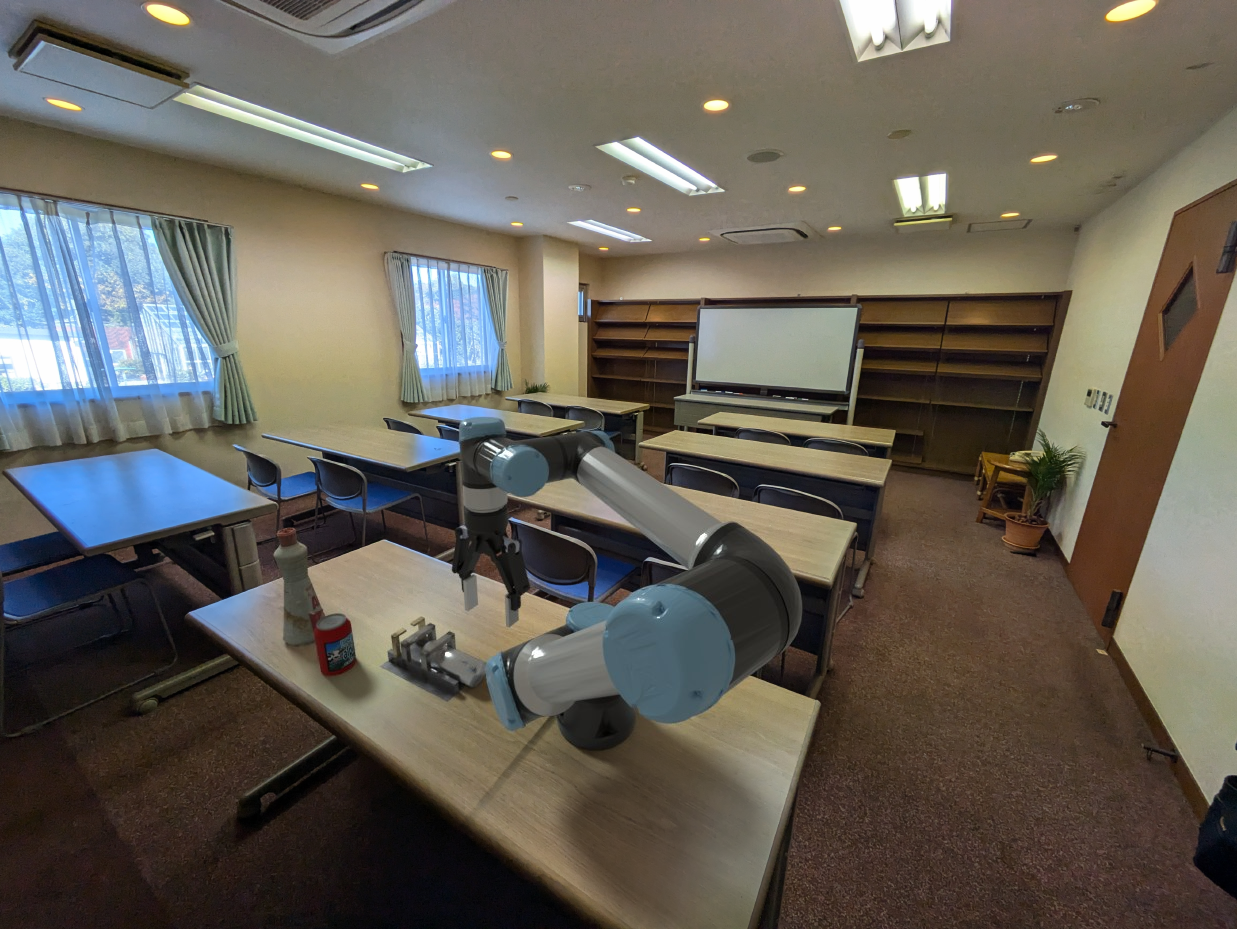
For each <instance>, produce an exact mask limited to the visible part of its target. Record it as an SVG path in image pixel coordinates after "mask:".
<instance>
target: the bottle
mask: <svg viewBox="0 0 1237 929" xmlns="http://www.w3.org/2000/svg"><path fill="white" fill-rule="evenodd" d="M276 537H277V540H278V543H279V546H278V548H277V549H275V551H274V553H273V558H274V560H275V562H276V565H277V567H278V569H279V572H280V574H281V577H282V579H283V628H282V629H283V630H282V632H283V634H282V640H283V642H285V643H286V644H289V645H291V646H294V647H299V646H306V645H310V644H313V643H315V638H314V630H315V628H316V624H317V622H318V621H319V620H320V619H321V618H323V617H325V616H326V613H325V612H324V608H323V607H322V605H321V603H320V600H319V597H318V596H317V592H316V590H315V587H314V585H313V583H312V581H311V578H310V576H309V568H308V547H307V546H306V545H305V544H303V543H301V542H299V541H298V537H297V531H296V529H295V528H294V527H285V528H282V529H279V530H278V531H277V533H276Z"/></svg>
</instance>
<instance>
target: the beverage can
mask: <svg viewBox="0 0 1237 929" xmlns="http://www.w3.org/2000/svg"><path fill="white" fill-rule="evenodd" d="M314 638H315V642H314V643H315V649H316V654H317V660H318V666H319V671H320V673H321V674H322V675H323V676H326V677H333V676H335V677H336V676H338V675H342V674H344V673H346V672H348V671H349V670H351V669H352V668H354V666H355V665H356V663H357V654H356V648H355V642H354V641H355V640H354V633H353V628H352V622H351V620H350V619H349V618H348V617H347V616H346V614H344V613H341V612H340V613H338V612H337V613H331V614H328V615H327V614H326V615H325V617H323V618H321V619H320V620H319V621H318V622H317V624H316V628H315V630H314Z"/></svg>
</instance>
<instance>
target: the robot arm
mask: <svg viewBox="0 0 1237 929" xmlns="http://www.w3.org/2000/svg"><path fill="white" fill-rule="evenodd" d="M458 430H459V431H458V432H459V434H458V437H459V438H458V444H459V454H460V455H459V456H460V470H461V481H462V485H461V486H462V501H463V503H462V505H463V506H464V509H463V514H464V515H463V516H464V524H463V525H461V526H459V527H456V528H455V529H454V535H455V544H454V551H453V557H452V558H453V559H452V565H451V572H452V573H453V574H457V575H458V577H459V579H460V582H461V591H462V593H463V597H464V598H463V599H464V611H465V612H470V611H471V610H472V609H474V608H475V607H477V606H478V605H479V596H478V594H479V593H478V579H477V575H476V574H474V573H475V572H476V570H475V569H476V567H477V564H478V562H479V560H480V557H481V555H486V556H487V557H489V558H490V560H491V562H492V563H493V564H495V566H496V569H497V570H498V574H499V575H500V577H501V580H502V582H503V584H504V586H505V589H506V592H507V593H505V595H504V610H505V627H506V628H510V629H511V627H512V626H513V625H515V624H516V623H517V622H519V620H520V618H519V617H520V616H519V613H520V612H519V610H520V608H521V606H522V596H523V595H524V594H526V592H528V591H529V590H531V586H530V582H529V578H528V572H527V568H526V563H525V560H524V556H523V541H522V539H520V538H517V539H516V540H515V539H512V538H509V535H508V533H507V528H508V524H509V506H508V504H507V503H508V500H509V499H508V494H510V495H513V496H516V497H519V498H528V497H532V496H534V495H536V494H537V493H538V492H539V491H541V490H542V489H543V488H544V487H545V485H547V484H550V483H556V482H559V481H564V480H565V481H567V480H570V479H572V480H574V481H576V482H577V483H578V484H580V486H582V487H584V488H585V489H586V490H588V491H589V492H590V493H591V494H593V495H594V496H595V497H596V498H597V499H598V500H600V501H601V502H603V503H604V504H605V505H606V506H608V507H609V508H610V509H611V510H613V512H614V513H616V514H617V515H619V516H620V517H621V518H623V519H624V520H625V521H626V522H627V523H628V524H630V525H631V526H632V527H634V528H635V529H637V530H638V531H639V532H640V533H641V534H643V535H644V536H645V537H646V538H648V539H649V540H650V541H652V542H653V543H654V544H655V545H657V546H658V547H659V548H660V549H661V550H663V551H664V552H665V553H667V554H668V555H669V556H670V557H672V558H673V559H674V560H675V561H676V562H678V563H679V564H680V565H682V566H683V567H684V568H686V569H687V570H685V571H683V572H681V573H678V574H677V575H676V574H675V575H673V576H672V577H669V578H667V579H664V580H662V581H660V582H658V583H656V584H650V585H647V586H644V587H641V588H639V589H637V590H634V591H633V592H632V593H630V594H629V595H627V597H625V598H624V599H621V601H619V603H617V604H616V605H615V606H613V605H611V604H607V603H604V602H603V603H602V602H598V601H587V602H581V603H578V604H576V605H574V606H572V607H571V608H570V609H569V610H568V612H567V614H566V616H565V622H566V623H565V624H564V625H562V626H559V627H556V628H555V629H552V630H548V631H547V632H544V633H542V634H540V635H538V636H535V637H533V638H531V639H529V640H526V641H524V642H522V643H519V644H518V645H515V646H513V647H510V648H508V649H506V650H504V651H501V650H500V651H499V652H498V653H497V654H495V655H494V656H492V657H490V658H488V659H487V661H486V662H485V663H486V668H485V670H486V672H485V677H486V683H487V687H488V691H489V695H490V699H491V701H492V704H493V706H494V709H495V712H496V714H497V717H498V718H499V721H500V722H501V724H502V726H503V727H504V728H505V729H506V730H507V731H509V732H515V731H517V730H520V729H522V728H525V727H527V725H528V724H530V723H532V722H533V721H535V720H538V719H540V718H544V717H553V716H557V717H556V721H557V726H558V729H559V731H560V733H561V734H562V736H563V737H564V738H565V739H566V740H567V741H568V742H569V743H570V744H572V745H574V746H576V747H578V748H581V749H584V750H592V751H599V750H600V751H602V750H607V749H611V748H613V747H614V748H615V747H616V746H618V745H620V744H621V743H623V742H624V741H625V740H626V739H627V738H628V737H629V736H630V735H631V733H632V731H633V729H634V727H635V723H636V707H637V709H638V714H639V715H641V716H642V717H644V718H646V719H648V720H650V721H653V722H655V723H660V724H665V725H666V724H668V725H669V724H677V723H681V722H685V721H687V720H689V719H691V718H692V717H693V718H694V717H695V716H699V715H701V714H703V713H705V712H706V711H708V710H710V709H711V708H712V707H713V706H715V705H716V704H717V703H718V702H719V701H720V700H721V699H722V697H723V696H725V695H726V694H727V693H729V691H731V690H732V689H734V688H735V687H736V686H737V685H739V684H740V683H742V682H743V681H744V680H746V679H748V677H750V676H751V675H753V674H754V673H755V672H756V671H758V670H759V669H760V668H762V667H763V666H765V665H766V664H768V663H769V662H770V661H771V660H773V659H774V658H776V657H777V656H779V655H780V654H782V653H783V652H784V651H785V650H786V649H788V647H789V646H790V645H791V643H792V642H793V640H794V639H795V638H796V637H797V634H798V631H799V629H800V626H801V623H802V615H803V600H802V595H801V594H802V593H801V590H800V587H799V585H798V584H799V583H798V582H797V579H796V577H795V575H794V573H793V571H792V570H791V568H790V566H789V565H788V564H787V562H786V561H785V560H784V558H782V556H781V555H780V554H779V553H778V552H777V551H776V550H775V549H774V548H773V547H772V546H771V545H770V544H769V543H767V542H766V541H765V540H763V539H762V538H761V537H760V536H758V535H757V534H756V533H754V532H752V530H751V531H750V530H749V529H748V528H746V527H745V526H743V525H741V524H740V523H738V522H736V521H733V520H730V521H725V522H723V521H721V520H719V519H718V518H716V517H715V516H713V515H711V514H709V513H708V512H707V511H705V510H704V509H702V508H701V507H699V506H698V505H696V504H694V503H693V502H691V501H690V500H688V499H686V498H685V497H684V496H682V495H681V494H679V493H677V492H676V491H675V490H673V489H671V488H670V487H669V486H667V485H665V484H663V483H662V482H660V481H659V480H658V479H656V478H654V477H653V476H651V475H650V474H648V473H647V472H645V471H643V470H642V469H640V468H639V467H637V466H636V465H635V464H633V463H631V462H630V461H628V460H627V459H626V458H623V457H622V456H621V455H619V454H617V453H616V451H615V450H616V449H615V445H614V443H613V441H612V440H611V439H610V436H609V435H608V434H607V433H605V432H604V431H601V430H581V431H579V432H572V433H567V434H566V433H565V434H559V435H552V436H545V437H544V436H543V437H536V438H535V437H534V438H529V439H522V440H512V439H510V438H508V437H507V431H506V426H505V422H504V420H503V419H501V418H500V417H494V416H475V417H469V418H465V419H463V420H461V422H460V423H459V429H458Z"/></svg>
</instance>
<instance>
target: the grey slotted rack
mask: <svg viewBox="0 0 1237 929" xmlns="http://www.w3.org/2000/svg"><path fill="white" fill-rule="evenodd" d="M410 626H412V627H414V628H415V627H416V626H417V627H418V630H416V631H415V632H414V633H412V634H411V635H409V636H408V637H406V638H405V639H402V641H400V636H402V635H404V634H405V633H406V632H407V629H406V628H404V627H402V628H400V629H399V630H397V631H395V632H394V633H392V634H391V635H390V638H391V647H392V648H390V649H389V650H387V651H386V652H387V661H386V662H384V663H383V664H381V665H379V667H381V668H383V669H384V670H386V671H388V672H390V673H392V674H394V675H395V676H397V677H399V678H401V679H403V680H405V681H407V682H409V683H411V684H413V685H414V686H416V687H419V688H420V689H422V690H424V691H426V692H428V693H430V694H432V695H434V696H436V697H438V698H439V699H441V700H444V702H448V701H450V700H451V699H452V698H454V696H456V695H457V694H458V693H459V692H460V691H461V690H463V689H464V688H465V687H466V686H467V685H466V684H464V683H462V682H460V681H458V680H456V679H454V678H452V677H450V676H448V675H446V674H444V673H442V672H440V671H438V670H436V669H434V668H432V667H431V661H430V655H431V654H433V653H434V652H436V651H437V650H438V649H440V648H441V647H442V646H444V645H447V646H449V647H451V648H453V649H455V650H458V651H460V650H459V649H457V644H456V643H457V642H456V633H455V632H453V631H451V630H449V631H447V632H446V633H444V634H443V635H442V636H441V637H439V638H438V639H437V632H436V631H437V630H436V624H434V623H432V622H429V623H427V624H426V618H425V617H424V616H419V617H418V618H416V619H414V620H413V621H411V622H410ZM431 640H436V641H435V642H433V643H432V644H430V645H429V646H428V647H426V648H425V649H423V650H422V648H423V647H424V645H425V644H426V643H428V642H429V641H431ZM421 650H422V651H421ZM460 652H462V653H464V654H466V655H469V656H471V657H473V658H475V659H477V660H480V659H479V658H476V657H474V656H472V655H470V654H467V653H466V652H463V651H460ZM420 655H421V661H420ZM480 661H482V662H484V661H483V660H480ZM484 663H485V664H486V663H487V662H484Z"/></svg>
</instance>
